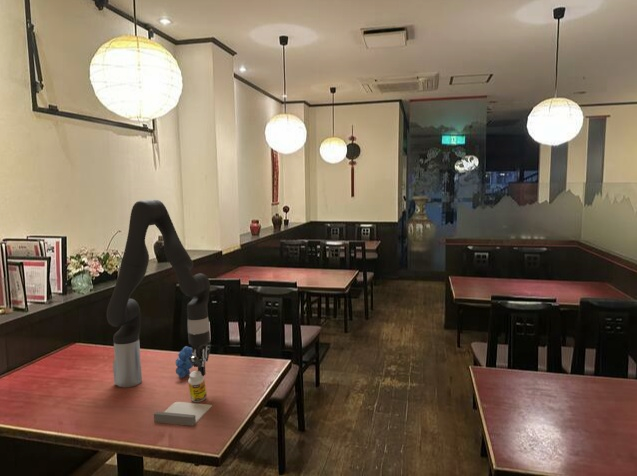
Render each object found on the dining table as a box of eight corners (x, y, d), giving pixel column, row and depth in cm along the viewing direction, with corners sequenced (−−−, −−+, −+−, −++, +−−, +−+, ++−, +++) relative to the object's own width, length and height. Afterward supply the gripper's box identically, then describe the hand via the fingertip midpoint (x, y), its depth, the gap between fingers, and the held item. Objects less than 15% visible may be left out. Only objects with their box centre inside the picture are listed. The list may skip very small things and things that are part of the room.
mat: (154, 421, 147) (153, 413, 147) (175, 402, 160) (175, 395, 160) (193, 425, 144) (192, 417, 144) (211, 406, 157) (211, 398, 157)
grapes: (184, 369, 190) (183, 341, 188) (198, 370, 188) (197, 343, 187) (168, 380, 179) (166, 351, 177) (183, 382, 177) (181, 353, 175)
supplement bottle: (193, 405, 159) (189, 380, 155) (189, 396, 163) (185, 372, 160) (209, 399, 161) (205, 374, 158) (204, 390, 166) (200, 367, 162)
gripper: (197, 323, 169) (200, 367, 171) (179, 335, 156) (183, 383, 158) (216, 324, 167) (219, 368, 169) (200, 336, 154) (203, 384, 156)
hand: (202, 375), depth 164 cm, fingers closed
